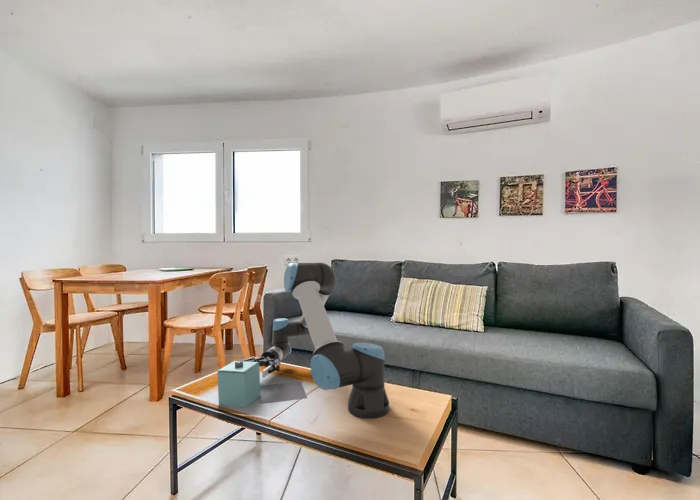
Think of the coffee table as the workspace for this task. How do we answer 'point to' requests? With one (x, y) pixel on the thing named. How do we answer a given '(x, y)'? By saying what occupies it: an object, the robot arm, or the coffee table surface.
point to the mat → (281, 392)
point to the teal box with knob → (239, 383)
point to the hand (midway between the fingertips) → (247, 372)
